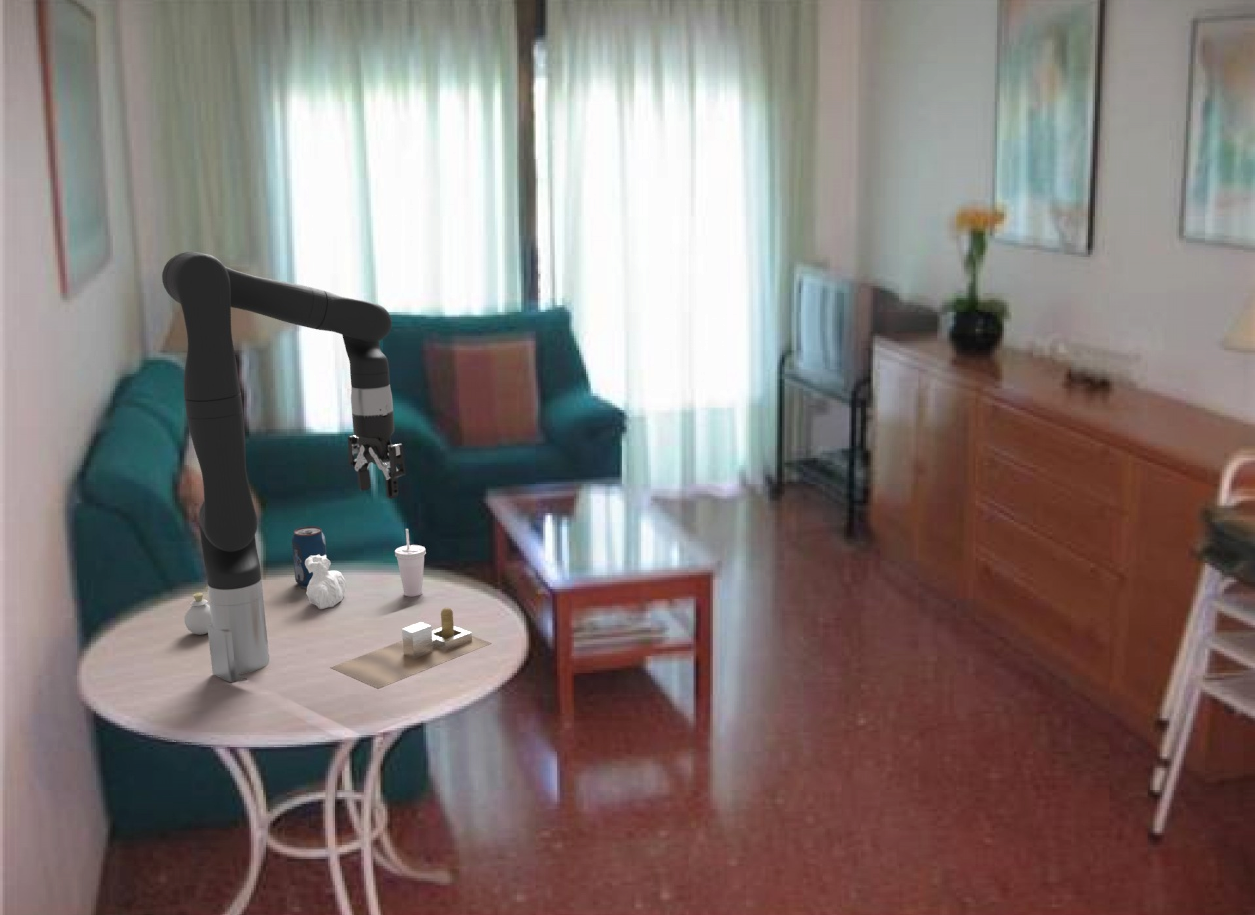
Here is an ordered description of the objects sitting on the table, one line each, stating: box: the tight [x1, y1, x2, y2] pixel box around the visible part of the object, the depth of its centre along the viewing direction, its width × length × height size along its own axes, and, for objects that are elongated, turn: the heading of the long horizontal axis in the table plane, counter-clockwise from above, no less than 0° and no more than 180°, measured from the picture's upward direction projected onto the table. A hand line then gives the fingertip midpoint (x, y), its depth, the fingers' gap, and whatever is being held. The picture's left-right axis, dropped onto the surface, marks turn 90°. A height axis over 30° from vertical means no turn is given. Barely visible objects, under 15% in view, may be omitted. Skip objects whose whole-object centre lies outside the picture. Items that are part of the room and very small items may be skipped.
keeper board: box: [330, 607, 492, 690], centre depth 235 cm, size 26×14×8 cm, turn 137°
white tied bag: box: [305, 554, 347, 610], centre depth 267 cm, size 12×8×11 cm
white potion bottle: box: [184, 586, 212, 636], centre depth 251 cm, size 6×7×10 cm
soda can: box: [291, 526, 328, 589], centre depth 277 cm, size 7×7×12 cm
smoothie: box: [394, 528, 427, 597], centre depth 270 cm, size 6×6×14 cm
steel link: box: [401, 621, 473, 658], centre depth 239 cm, size 12×6×5 cm, turn 138°
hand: (378, 493), depth 243 cm, fingers open, 8 cm apart
